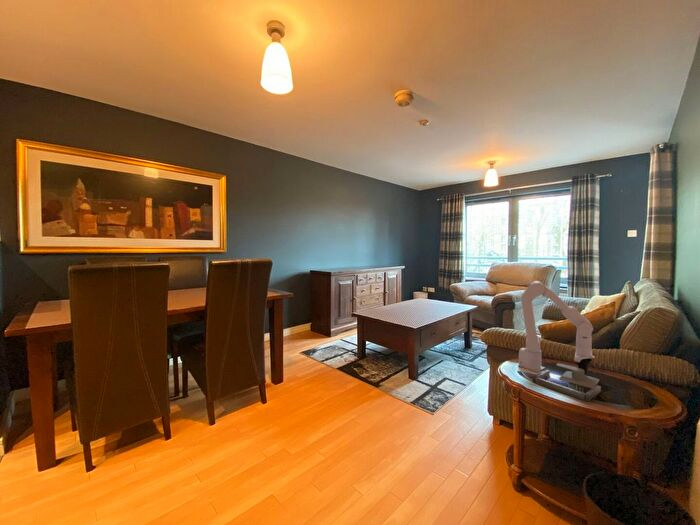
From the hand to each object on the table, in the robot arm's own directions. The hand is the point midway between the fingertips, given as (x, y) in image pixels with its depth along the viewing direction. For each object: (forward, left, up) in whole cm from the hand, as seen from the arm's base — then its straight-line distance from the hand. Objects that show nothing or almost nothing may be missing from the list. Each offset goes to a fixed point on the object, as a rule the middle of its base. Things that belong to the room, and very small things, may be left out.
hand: (583, 373), depth 137 cm
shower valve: (-1, -6, -2) cm, 6 cm away
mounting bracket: (0, -18, -1) cm, 18 cm away
